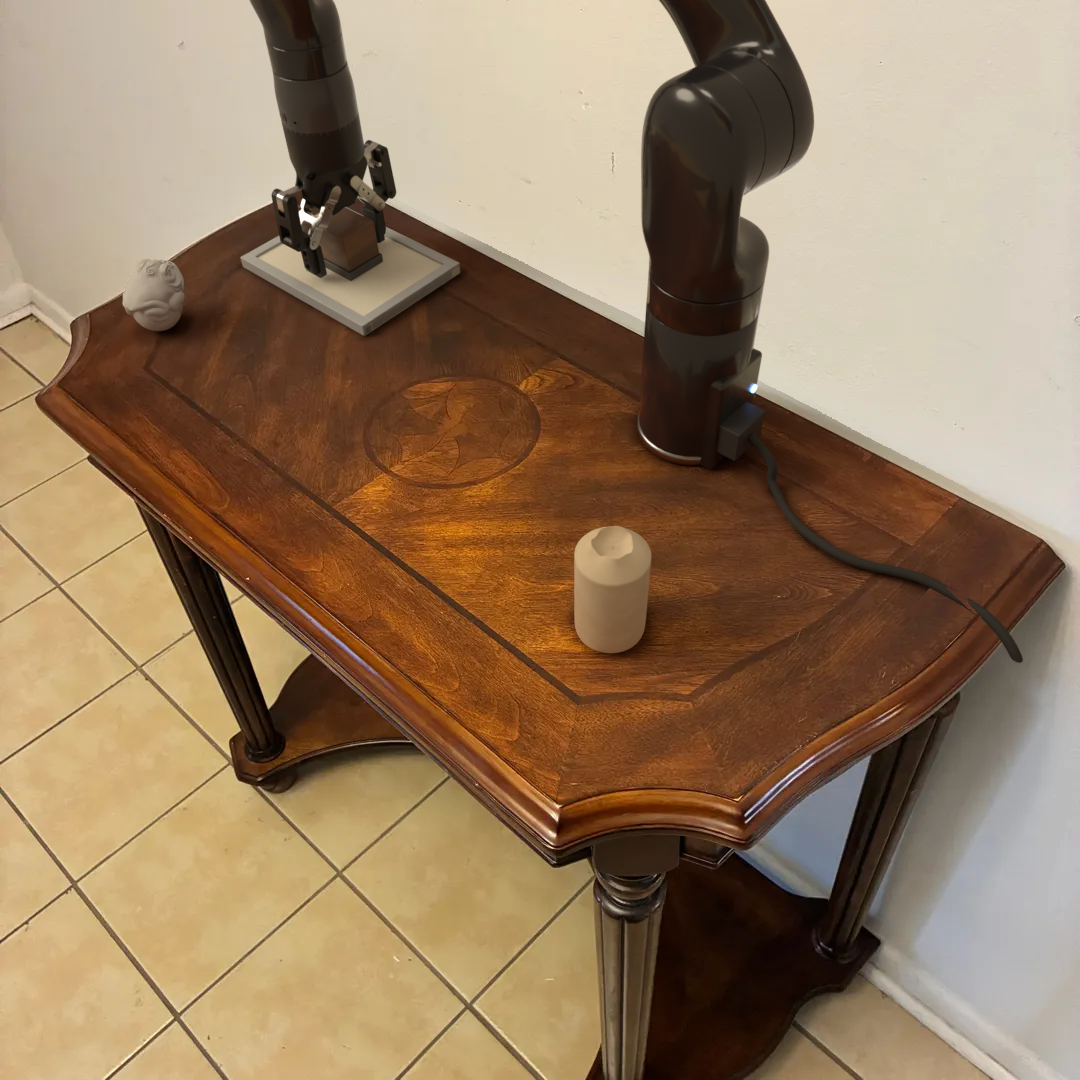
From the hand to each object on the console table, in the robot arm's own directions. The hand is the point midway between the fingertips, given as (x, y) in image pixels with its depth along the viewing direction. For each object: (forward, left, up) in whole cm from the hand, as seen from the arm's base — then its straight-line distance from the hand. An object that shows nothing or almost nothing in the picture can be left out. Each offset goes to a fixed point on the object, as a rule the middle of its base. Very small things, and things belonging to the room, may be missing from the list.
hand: (348, 256), depth 109 cm
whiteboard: (0, 0, -2) cm, 2 cm away
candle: (-52, +20, -2) cm, 56 cm away
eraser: (0, 0, -1) cm, 1 cm away
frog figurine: (+8, +19, -2) cm, 21 cm away
